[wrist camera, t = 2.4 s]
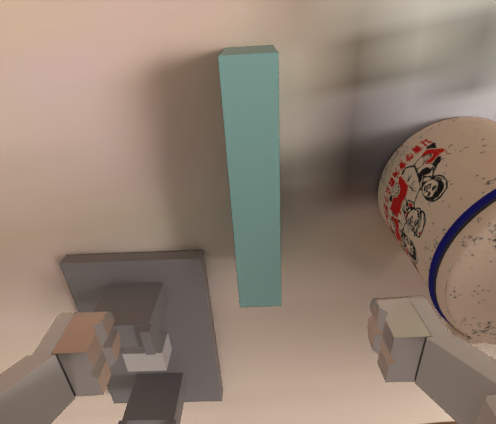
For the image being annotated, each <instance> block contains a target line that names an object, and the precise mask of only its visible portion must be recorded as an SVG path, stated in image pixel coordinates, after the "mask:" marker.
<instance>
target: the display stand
mask: <svg viewBox="0 0 496 424" xmlns="http://www.w3.org/2000/svg"><path fill="white" fill-rule="evenodd" d="M60 266H61V268H62V271H63V273H64V276H65V278H66V281H67V284H68V286H69V289H70V291H71V294H72V296H73V299H74V302H75V304H76V307H77V309H78V312H111V313H112V315H113V317H114V320H115V321H114V323H113V326H112V327H114V328H115V329H116V330H118V332H119V336H120V351H119V355H118V358H117V361H116V362H115V363H114V364H113V365H112V366H111V367H110V368H109V369H110V372H111V377H110V379H109V382H108V384H107V386H108V389H109V391H110V394H111V396H112V399H113V401H114V403H128V404H127V407H126V410H125V413H124V416H123V419H122V421H119V423H118V424H180V420H181V415H182V409H183V404H184V402H197V401H222V397H223V387H222V380H221V373H220V366H219V359H218V352H217V345H216V338H215V331H214V324H213V317H212V310H211V303H210V296H209V289H208V282H207V275H206V268H205V261H204V254H203V250H191V251H165V252H138V253H112V254H85V255H66V256H65V258H64V259H63V260H62V261H61V263H60Z"/></svg>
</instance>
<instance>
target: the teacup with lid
mask: <svg viewBox="0 0 496 424" xmlns="http://www.w3.org/2000/svg"><path fill="white" fill-rule="evenodd" d="M378 204H379V208H380V212H381V214H382V217H383V218H384V220H385V222H386V223H387V225H388V226H389V228H390V229H391V231H392V233H393V234H394V236H395V237H396V239H397V240H398V242H399V243H400V245H401V246H402V248H403V249H404V251H405V252H406V254H407V255H408V257H409V258H410V260H411V261H412V263H413V264H414V266H415V267H416V269H417V271H418V272H419V274H420V275H421V277H422V278H423V280H424V281H425V283H426V284H427V286H428V287H429V292H430V296H431V299H432V302H433V304H434V306H435V308H436V309H437V311H438V312H439V314H440V315H441V316H442V317H443V319H444V321H445V323H446V325H447V326H448V328H449V330H450V331H451V332H452V334H453V335H454V336H457V337H459V338H461V339H462V340H464V341H466V342H467V343H482V342H486V343H490V344H496V122H494V121H491V120H489V119H484V118H480V117H456V118H450V119H446V120H442V121H440V122H437V123H434V124H432V125H429V126H427V127H425V128H424V129H422V130H420V131H418V132H417V133H415V134H414V135H412V136H411V137H410V138H409V139H407V140H406V141H405V142H404V143H403V144H402V145H401V146H400V147H399V148H398V149H397V150H396V151H395V153H394V154H393V155H392V156H391V158H390V159H389V161H388V163H387V164H386V166H385V168H384V170H383V173H382V175H381V178H380V182H379V187H378Z"/></svg>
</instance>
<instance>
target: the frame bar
mask: <svg viewBox="0 0 496 424" xmlns="http://www.w3.org/2000/svg"><path fill="white" fill-rule="evenodd" d="M218 62H219V73H220V84H221V96H222V107H223V119H224V130H225V142H226V153H227V165H228V176H229V188H230V199H231V210H232V222H233V233H234V245H235V256H236V268H237V279H238V291H239V302H240V307H266V306H281V242H280V152H279V62H278V51H277V50H276V49H275V47H274V46H273V45H267V46H250V47H233V48H225V49H224V50H223V51H222V52H221V53H220V54H219V55H218Z"/></svg>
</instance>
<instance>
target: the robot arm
mask: <svg viewBox="0 0 496 424" xmlns="http://www.w3.org/2000/svg"><path fill="white" fill-rule="evenodd" d="M370 310H371V312H372V314H373V315H372V316H371V317H370V318H369V319H368V337H369V341H370V344H371V347H372V349H373V351H375V352H376V353H377V354H378V355H379V357H378V365H379V367H380V370H381V372H382V375H383V377H384V380H385V382H415V384H416V385H418V386H419V387H420V388H421V389H422V390H423V391H424V392H425V393H426V394H427V395H428V396H429V397H430V398H431V399H432V400H434V401H435V402H436V403H437V404H438V405H439V406H440V407H441V408H442V409H443V410H444V411H445V412H446V413H447V414H449V415H450V416H451V417H452V418H453V419H454V420H455V421H456V422H457V423H458V424H496V360H495V359H493V358H492V357H490V356H488V355H487V354H485V353H484V352H482V351H480V350H479V349H477V348H475V347H474V346H472V345H470V344H469V343H467V342H466V341H464V340H462V339H461V338H459V337H457V336H451V335H450V333H449V332H448V330H447V329H446V327H445V326H444V324H443V323H442V322H441V320H440V319H439V317H438V316H437V314H436V313H435V311H434V310H433V308H432V307H431V305H430V304H429V302H428V301H427V299H426V298H425V297H424V296H406V297H391V298H374V299H372V301H371V304H370ZM114 321H115V320H114V317H113V315H112V313H111V312H78V313H62V314H60V315H59V316H57V318H56V319H55V321H54V322H53V324H52V326H51V327H50V329H49V330H48V332H47V333H46V335H45V336H44V338H43V339H42V341H41V342H40V344H39V345H38V347H37V349H36V350H35V352H34V353H33V355H32V356H26V357H25V358H23V359H22V360H20V361H19V362H17V363H16V364H15V365H13V366H12V367H10V368H9V369H7V370H6V371H4V372H3V373H2V374H0V424H51V423H52V422H53V421H54V420H55V419H56V418H57V417H58V416H59V415H60V414H61V413H62V411H63V410H64V409H65V408H66V407H67V406H68V405H69V404H70V403H71V402H72V401H73V400H74V399H75V397H76V396H90V395H104V392H105V390H106V387H107V384H108V382H109V379H110V377H111V372H110V369H109V368H110V367H111V366H112V365H113V364H114V363H115V362H116V361H117V358H118V355H119V351H120V336H119V332H118V330H116V329H115V328H114V327H112V326H113V323H114Z"/></svg>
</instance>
